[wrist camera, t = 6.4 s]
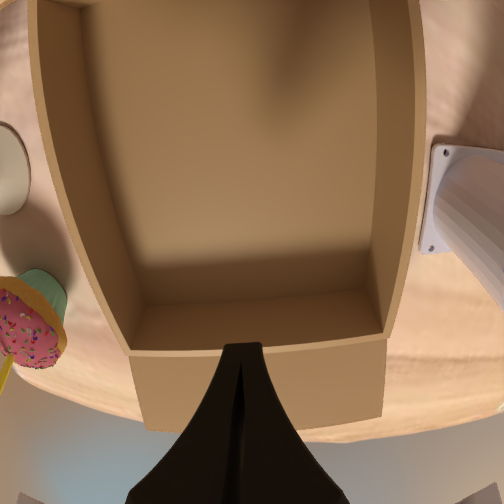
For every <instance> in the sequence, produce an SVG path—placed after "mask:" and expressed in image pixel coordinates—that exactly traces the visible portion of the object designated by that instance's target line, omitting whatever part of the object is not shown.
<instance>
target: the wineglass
mask: <svg viewBox="0 0 504 504" xmlns="http://www.w3.org/2000/svg"><path fill="white" fill-rule="evenodd" d="M30 182H31V175H30V165H29V160H28V156H27V153H26V151H25V148H24V146H23V144H22V142H21V141H20V139H19V137H18V136H17V135H16V134H15V133H14V132H13V131H12V130H11V129H9V128H8V127H6V126H3V125H0V214H1V215H11V214H14V213H15V212H17V211H18V210H19V209H20V208H22V206H23V205H24V203H25V202H26V200H27V197H28V194H29V190H30Z"/></svg>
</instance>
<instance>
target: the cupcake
mask: <svg viewBox="0 0 504 504" xmlns="http://www.w3.org/2000/svg"><path fill="white" fill-rule="evenodd" d="M66 306H67V298H66V294H65V292H64V290H63V288H62V286H61V285H60V284H59V282H58V281H57V280H56V279H55V278H54V277H53V276H51V275H50V274H49V273H47V272H45V271H43V270H40V269H31V270H29V271H27V272H25V273H23V274H21V275H19V276H17V277H12V276H8V277H4V276H1V277H0V350H1V351H2V353H3V354H4V355H5V356H7V358H6V360H5V362H4V365H3V367H2V370H1V372H0V395H1V393H2V390H3V387H4V384H5V382H6V379H7V376H8V374H9V371H10V369H11V366H12V364H13V362H14V361H15V362H14V363H17V364H18V365H20V366H24V367H30V368H31V367H32V368H34V367H36V368H35V369H39V368H40V369H46V368H47V367H51V366H52V367H53V366H54V364H56V361H57V360H58V358H59V357H60V356H61V355H62V353H63V352H64V350H65V348H66V345H67V337H66V334H65V331H64V328H63V321H64V315H65V310H66Z"/></svg>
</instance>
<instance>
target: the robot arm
mask: <svg viewBox="0 0 504 504" xmlns="http://www.w3.org/2000/svg"><path fill="white" fill-rule="evenodd" d="M445 149H446V154H445V155H444V154H443V152H444V150H445ZM430 246H432V247H431V248H430V249H429V247H430ZM418 250H419V252H420V253H421V254H422V255H427V254H437V253H446V252H454V253H455V254H456V255H457V257H458V258H459V259H460V260H461V261H462V262H463V263H464V264H465V266H466V267H467V268H468V269H469V270H470V271H471V272H472V274H473V275H474V276H475V277H476V278H477V280H478V281H479V282H480V283H481V284H482V286H483V287H484V288H485V289H486V291H487V292H488V293H489V294H490V296H491V297H492V298H493V299H494V301H495V302H496V303H497V305H498V306H499V307H500V309H501V310H502V311H503V313H504V151H502V150H495V149H488V148H480V147H471V146H462V145H451V144H440V143H438V144H435V145H434V146H433V147H432V151H431V163H430V173H429V183H428V191H427V198H426V206H425V212H424V219H423V225H422V230H421V236H420V241H419V246H418ZM17 504H44V503H42V502H40V501H38V500H36V499H33V498H31V497H29V496H27V495H25V494H23V493H22V492H20V493H19V496H18V500H17ZM125 504H350V503H349V501H348V500H347V498H346V496H345V495H344V493H343V491H342V490H341V489H340V488H339V487H338V485H336V483H335V482H334V481H333V480H332V479H331V478H330V477H329V476H328V474H327V473H326V472H325V471H324V470H323V468H322V467H321V466H320V465H319V463H318V462H317V461H316V459H315V458H314V456H313V455H312V454H311V452H310V451H309V450H308V448H307V447H306V445H305V444H304V443H303V441H302V439H301V438H300V436H299V435H298V433H297V432H296V430H295V428H294V427H293V425H292V423H291V421H290V420H289V418H288V416H287V414H286V412H285V410H284V408H283V406H282V404H281V402H280V400H279V398H278V396H277V393H276V391H275V389H274V386H273V384H272V381H271V379H270V376H269V373H268V370H267V367H266V363H265V360H264V355H263V347H262V343H260V342H248V343H230V344H226V345H224V347H223V351H222V354H221V357H220V360H219V363H218V366H217V368H216V371H215V373H214V376H213V378H212V380H211V382H210V385H209V387H208V389H207V391H206V393H205V395H204V397H203V399H202V401H201V403H200V405H199V406H198V408H197V410H196V412H195V414H194V415H193V417H192V419H191V420H190V422H189V423H188V425H187V426H186V428H185V429H184V431H183V432H182V434H181V435H180V437H179V438H178V439H177V441H176V442H175V443H174V445H173V446H172V447H171V449H170V450H169V451H168V452H167V453H166V455H165V456H164V457H163V458H162V459H161V460H160V461H159V462H158V464H157V465H156V466H155V467H154V468H153V469H152V470H151V471H150V472H149V473H148V474H147V475H146V476H145V477H144V478H143V479H142V480H141V481H140V482H139V483H137V484H136V485H135V486H134V487H133V488H132V489H131V490H130V491H129V493H128V496H127V499H126V502H125ZM455 504H502V501H501V497H500V494H499V490H498V487H497V483H492V484H491V485H489V486H487V487H485V488H483V489H482V490H480V491H478V492H476V493H474V494H472V495H470V496H468V497H466V498H465V499H463V500H461V501H460V502H457V503H455Z"/></svg>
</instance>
